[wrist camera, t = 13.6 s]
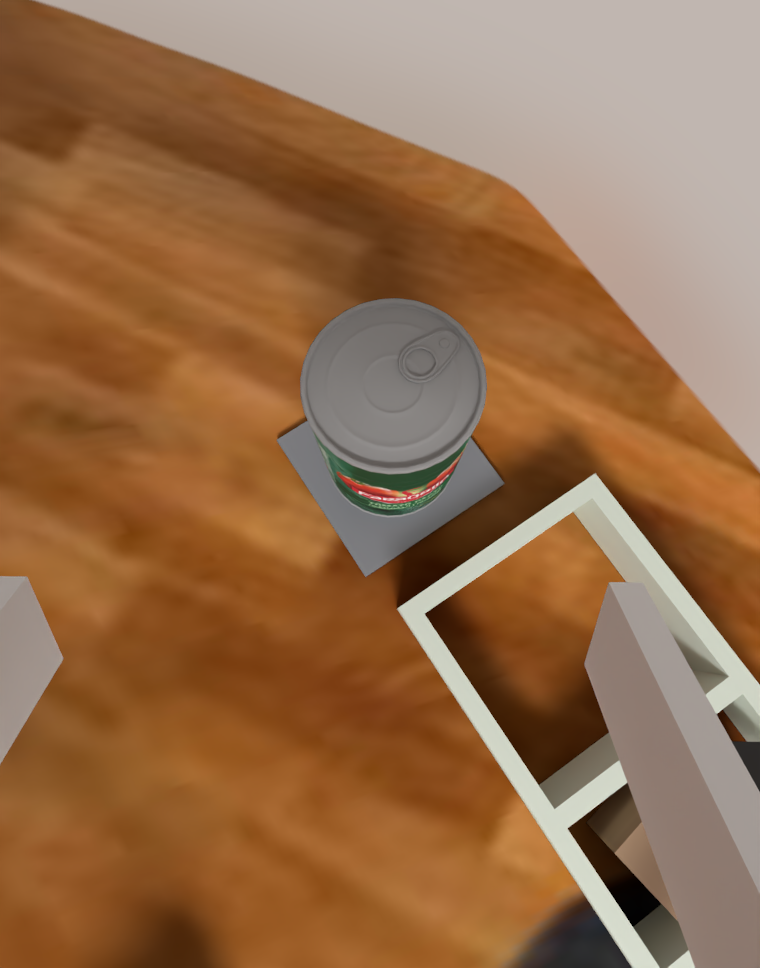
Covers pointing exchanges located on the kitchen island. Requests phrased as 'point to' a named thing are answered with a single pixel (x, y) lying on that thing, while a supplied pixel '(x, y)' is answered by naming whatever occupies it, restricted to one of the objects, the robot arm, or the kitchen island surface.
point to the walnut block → (630, 841)
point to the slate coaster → (385, 536)
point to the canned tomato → (392, 402)
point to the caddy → (598, 770)
